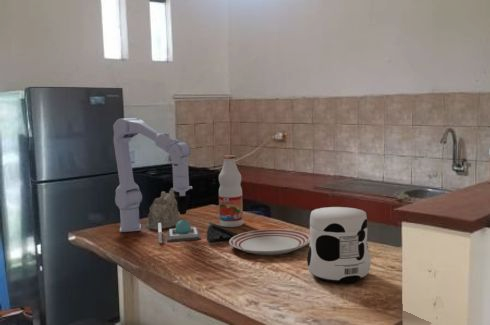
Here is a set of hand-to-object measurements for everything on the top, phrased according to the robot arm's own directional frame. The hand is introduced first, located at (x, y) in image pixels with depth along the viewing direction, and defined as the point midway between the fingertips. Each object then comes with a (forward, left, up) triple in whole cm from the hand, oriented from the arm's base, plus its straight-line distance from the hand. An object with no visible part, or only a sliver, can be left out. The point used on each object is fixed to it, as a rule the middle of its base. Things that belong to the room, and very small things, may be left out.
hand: (182, 211), depth 182 cm
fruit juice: (-12, +20, -10) cm, 25 cm away
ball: (0, 0, -6) cm, 6 cm away
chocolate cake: (+9, +13, -10) cm, 18 cm away
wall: (0, -8, -9) cm, 13 cm away
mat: (0, 0, -9) cm, 9 cm away
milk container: (+54, +40, -10) cm, 68 cm away
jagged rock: (-23, -8, -10) cm, 26 cm away
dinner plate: (+22, +28, -10) cm, 37 cm away
